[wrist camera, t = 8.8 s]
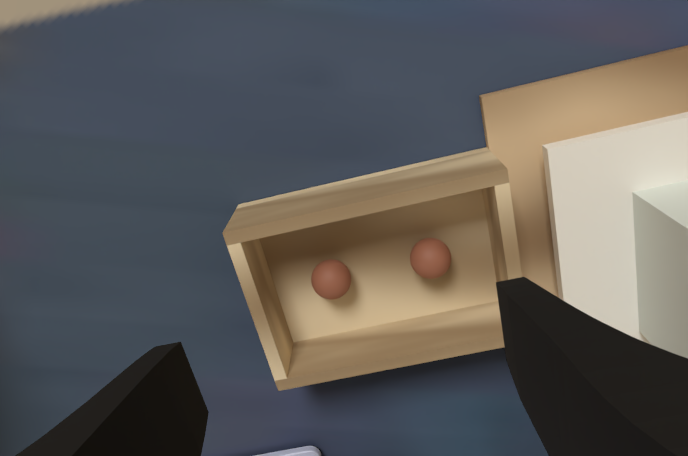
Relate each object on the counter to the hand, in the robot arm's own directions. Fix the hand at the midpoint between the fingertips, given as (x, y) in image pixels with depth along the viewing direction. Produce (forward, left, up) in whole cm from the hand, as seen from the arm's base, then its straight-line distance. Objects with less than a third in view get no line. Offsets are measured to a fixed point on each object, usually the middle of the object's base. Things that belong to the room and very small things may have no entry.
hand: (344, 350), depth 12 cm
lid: (-5, -11, -9) cm, 15 cm away
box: (-3, -1, -10) cm, 11 cm away
